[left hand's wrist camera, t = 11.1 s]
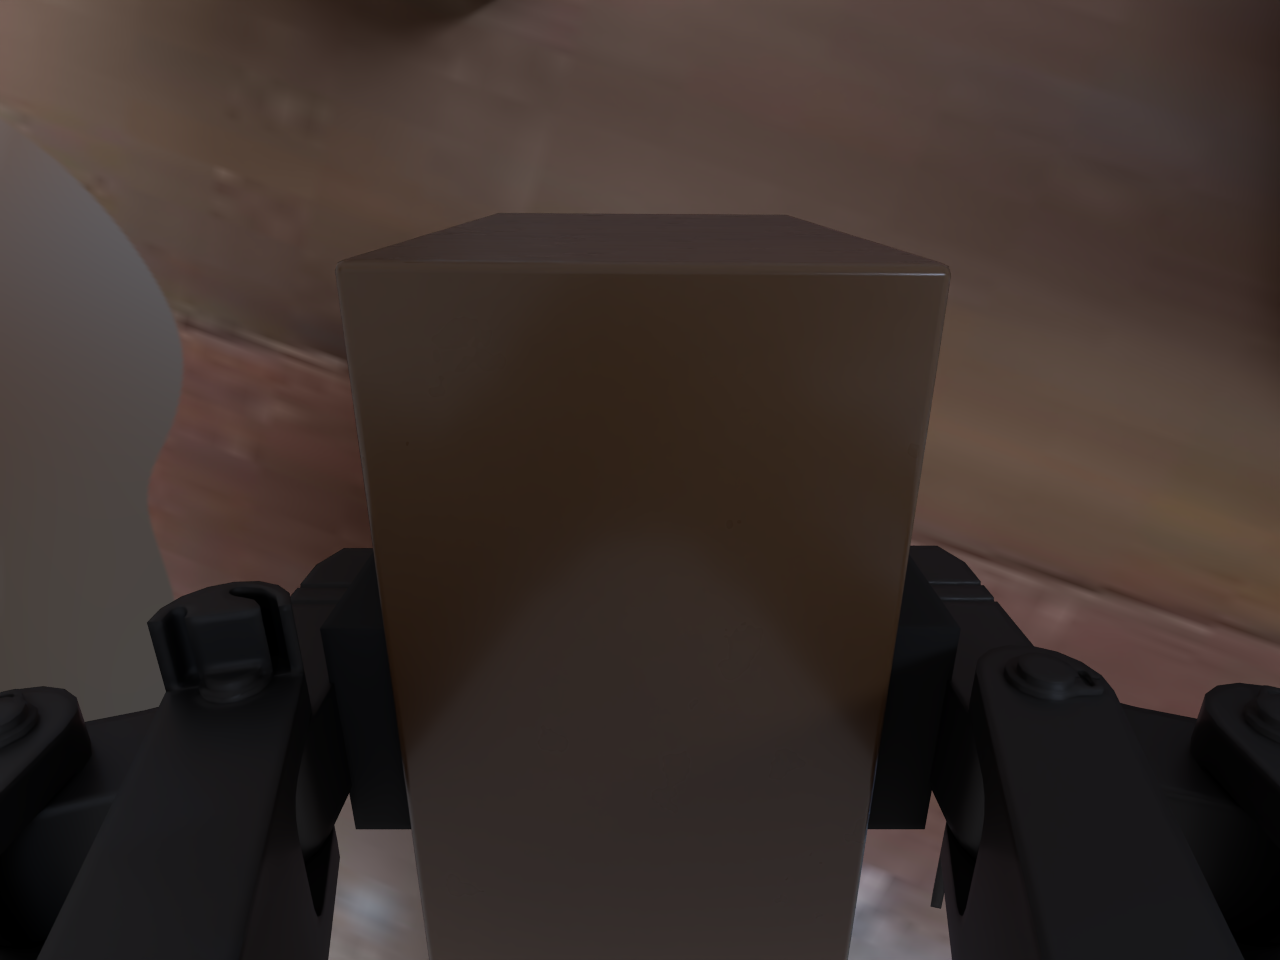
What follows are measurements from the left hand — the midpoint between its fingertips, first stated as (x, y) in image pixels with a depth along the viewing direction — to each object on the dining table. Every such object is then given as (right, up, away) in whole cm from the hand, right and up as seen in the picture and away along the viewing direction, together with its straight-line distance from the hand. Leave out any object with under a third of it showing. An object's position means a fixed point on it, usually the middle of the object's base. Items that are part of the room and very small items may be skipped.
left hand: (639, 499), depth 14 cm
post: (0, -32, +14) cm, 35 cm away
